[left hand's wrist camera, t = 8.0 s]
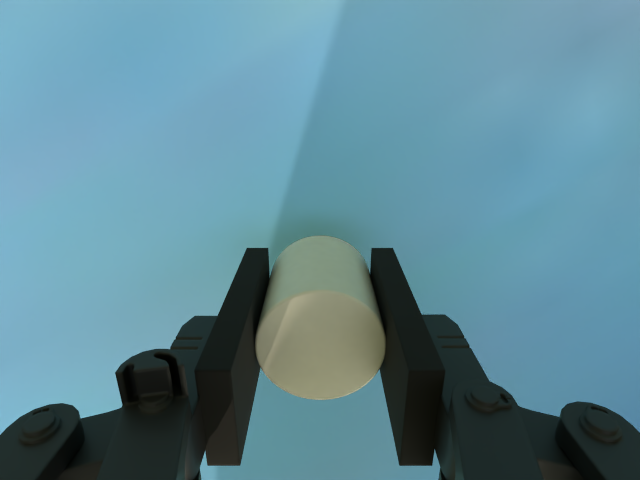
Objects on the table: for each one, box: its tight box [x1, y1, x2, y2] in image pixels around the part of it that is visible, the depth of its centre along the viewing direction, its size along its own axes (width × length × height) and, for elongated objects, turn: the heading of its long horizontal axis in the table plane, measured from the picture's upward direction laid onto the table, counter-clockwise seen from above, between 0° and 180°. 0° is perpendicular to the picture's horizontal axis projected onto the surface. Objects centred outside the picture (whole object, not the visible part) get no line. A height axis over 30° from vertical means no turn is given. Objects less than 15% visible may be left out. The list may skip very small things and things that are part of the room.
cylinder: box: [255, 236, 386, 400], centre depth 13 cm, size 4×4×4 cm
